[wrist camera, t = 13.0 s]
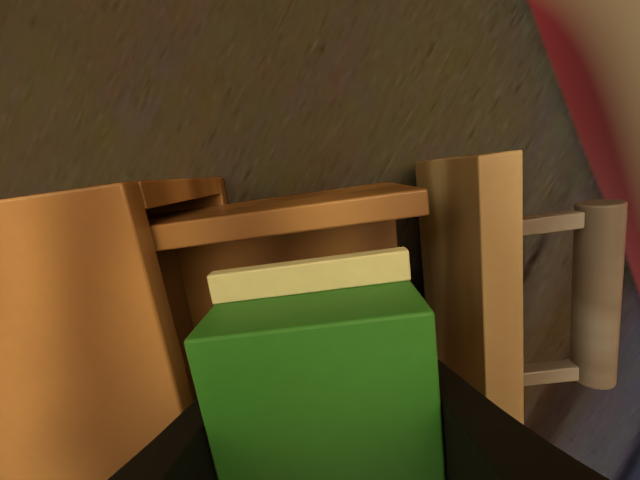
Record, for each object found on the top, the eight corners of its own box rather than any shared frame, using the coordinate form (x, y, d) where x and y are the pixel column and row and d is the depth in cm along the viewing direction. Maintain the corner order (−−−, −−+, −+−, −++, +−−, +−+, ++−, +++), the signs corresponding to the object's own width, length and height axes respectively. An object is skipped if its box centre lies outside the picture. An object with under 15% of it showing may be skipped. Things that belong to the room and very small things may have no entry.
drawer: (544, 143, 14) (707, 123, 8) (542, 366, 17) (668, 478, 11) (158, 198, 15) (46, 216, 9) (208, 402, 18) (144, 525, 12)
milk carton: (413, 468, 10) (455, 615, 7) (277, 481, 11) (254, 630, 7) (391, 233, 9) (433, 272, 5) (231, 253, 9) (172, 304, 6)
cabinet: (223, 176, 16) (121, 181, 8) (266, 394, 19) (221, 561, 11) (-48, 215, 17) (-388, 254, 9) (30, 419, 19) (-178, 593, 11)
